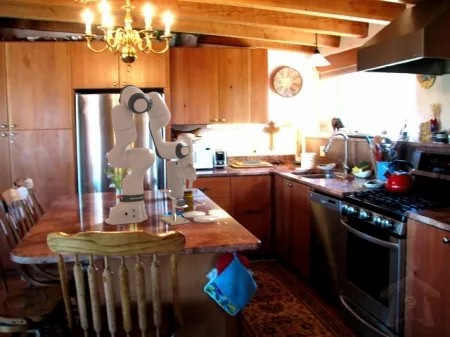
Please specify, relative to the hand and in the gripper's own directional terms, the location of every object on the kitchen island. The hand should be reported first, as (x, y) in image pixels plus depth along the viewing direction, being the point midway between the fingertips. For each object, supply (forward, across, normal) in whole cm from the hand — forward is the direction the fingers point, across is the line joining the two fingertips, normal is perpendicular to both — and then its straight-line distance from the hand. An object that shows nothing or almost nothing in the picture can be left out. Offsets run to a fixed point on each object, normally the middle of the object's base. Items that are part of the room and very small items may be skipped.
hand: (187, 186), depth 269 cm
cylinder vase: (+16, +49, -14) cm, 53 cm away
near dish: (+14, -28, +2) cm, 31 cm away
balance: (+14, -21, +18) cm, 31 cm away
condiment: (+15, 0, +1) cm, 15 cm away
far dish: (+14, -14, +3) cm, 20 cm away
